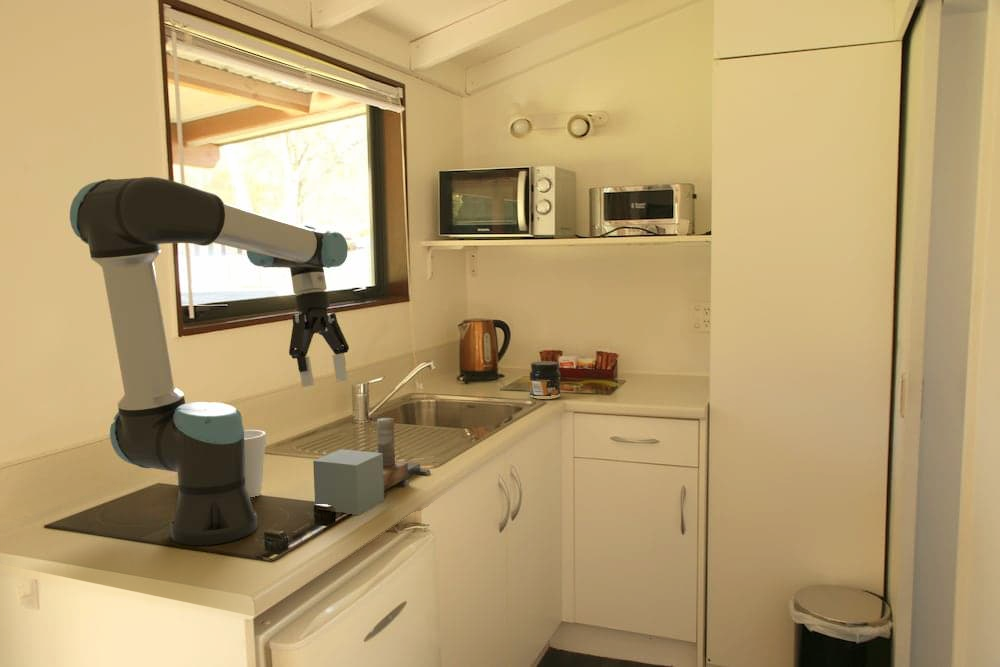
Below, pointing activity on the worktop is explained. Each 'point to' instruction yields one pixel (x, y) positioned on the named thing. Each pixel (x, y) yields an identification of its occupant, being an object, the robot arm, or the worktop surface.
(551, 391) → the supplement container
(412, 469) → the rail
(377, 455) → the grey box
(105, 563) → the worktop surface
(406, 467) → the grey peg on base
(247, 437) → the foam cup
